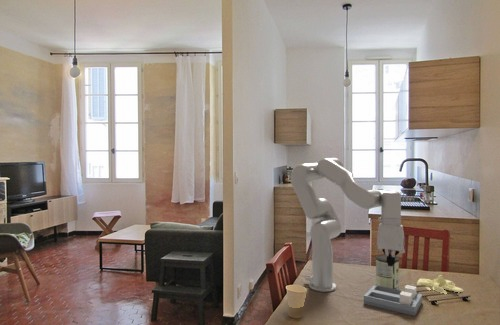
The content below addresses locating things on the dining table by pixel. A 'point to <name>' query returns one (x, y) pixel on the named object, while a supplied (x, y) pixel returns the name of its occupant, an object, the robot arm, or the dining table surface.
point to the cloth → (439, 285)
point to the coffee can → (387, 272)
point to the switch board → (391, 300)
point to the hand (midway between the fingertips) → (390, 265)
